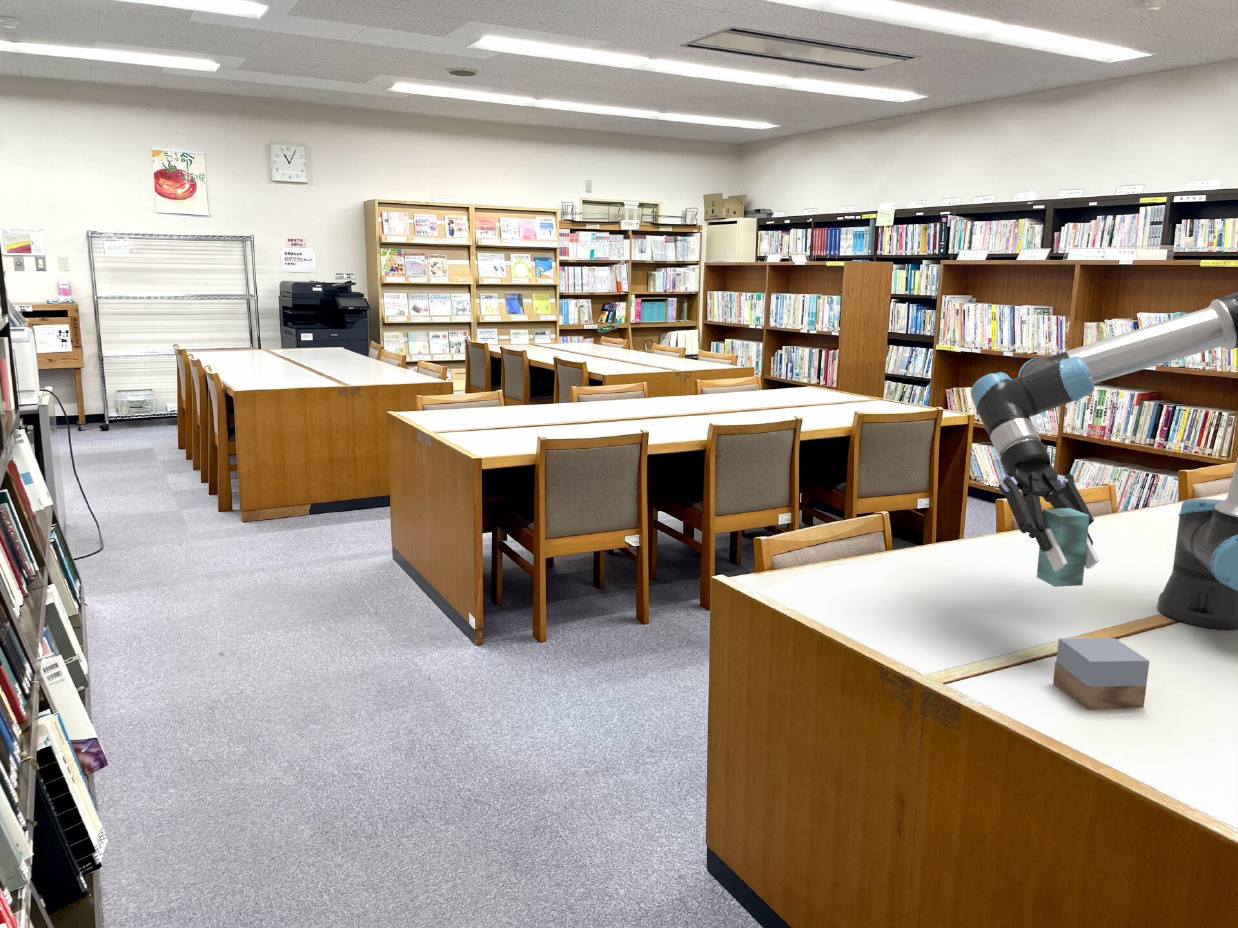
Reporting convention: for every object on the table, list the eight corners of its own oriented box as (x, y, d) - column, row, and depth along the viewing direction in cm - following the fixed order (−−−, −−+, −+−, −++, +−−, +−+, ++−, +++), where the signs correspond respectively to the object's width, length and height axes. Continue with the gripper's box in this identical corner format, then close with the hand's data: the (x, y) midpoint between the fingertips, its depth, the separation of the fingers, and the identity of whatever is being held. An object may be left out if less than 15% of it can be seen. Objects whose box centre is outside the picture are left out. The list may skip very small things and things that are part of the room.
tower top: (1111, 661, 141) (1114, 637, 141) (1146, 685, 133) (1149, 660, 132) (1056, 661, 141) (1058, 638, 140) (1087, 686, 132) (1090, 661, 132)
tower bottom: (1105, 682, 143) (1107, 659, 142) (1143, 708, 134) (1146, 684, 133) (1052, 685, 142) (1055, 662, 141) (1087, 711, 133) (1090, 686, 132)
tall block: (1063, 575, 152) (1070, 508, 149) (1082, 585, 147) (1089, 515, 144) (1036, 577, 151) (1042, 509, 149) (1054, 586, 146) (1061, 516, 144)
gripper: (1054, 459, 162) (1111, 572, 149) (964, 464, 158) (1015, 580, 146) (1077, 435, 156) (1139, 551, 143) (984, 439, 152) (1040, 558, 140)
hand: (1076, 565), depth 145 cm, fingers closed on tall block, 5 cm apart
